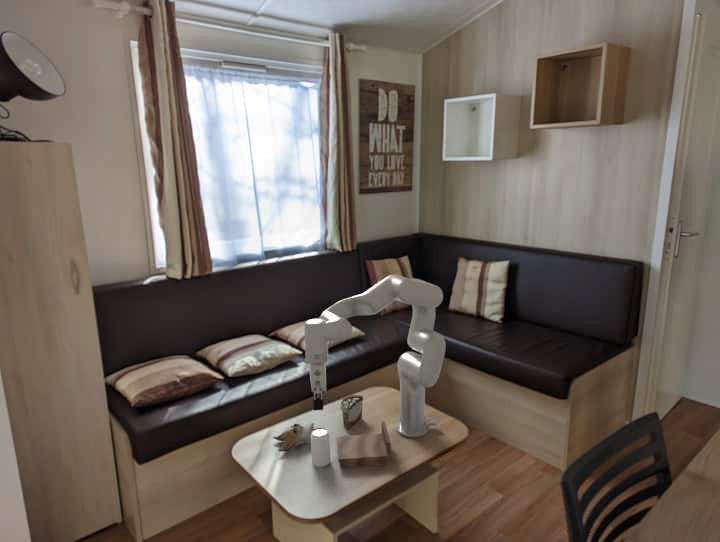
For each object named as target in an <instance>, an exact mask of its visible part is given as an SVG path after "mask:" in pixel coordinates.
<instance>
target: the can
mask: <svg viewBox="0 0 720 542" xmlns="http://www.w3.org/2000/svg"><path fill="white" fill-rule="evenodd" d="M330 441H331V440H330V433H329V430H328V428H325V427H314V430H313V431H312V434H311V443H310V449H311V451H310V452H311V464H312V465H313V466H314V467H317V468H324V467H327V466H328V465H329V464H330V463H331V449H330V447H331V445H330Z"/></svg>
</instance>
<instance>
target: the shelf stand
mask: <svg viewBox="0 0 720 542" xmlns="http://www.w3.org/2000/svg"><path fill="white" fill-rule="evenodd" d="M380 424H381V433H373V434H371V433H370V434H358V435H357V434H356V435H354V434H353V435H343V436H341V435H339V436H336V448H337V456H338V458H337V459H338V463H339V468H340V469H343V468H354V467H355V468H356V467H365V466H367V467H368V466H370V467H371V466H380V465H381V466H382V465H383V466H384V465H387V460H391V459H392V456H391V454H392V453H391V452H392V451H391V450H392V449H391V448H392V447H391V443H392V442H391V439H390V436H389V433H388V428H387V425H386V421H384V420H383V421H381V423H380Z"/></svg>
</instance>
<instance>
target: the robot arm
mask: <svg viewBox="0 0 720 542" xmlns="http://www.w3.org/2000/svg"><path fill="white" fill-rule="evenodd" d="M442 290H443V289H441V288H440V286H438V285H436V284H433V283H431V282H427V281H425V280H422V279H420V278H408V277H406V276H403V275H400V274H390V275H388V276H386V277H384V279H382V280H380V281H379V282H377V283H376V284H374V285H373V286H372V287H370V288H368V289H367V290H366V291H364V292H363V293H360V294H357V295H353V296H351V297H347V298H344V299H342V300H341V299H340V300H339V301H337V302H335V303H334V304H333V305H331V306H329V307H328V308H326V309H325V310H324V311H322V313H320V316H319V317H318V318H312V319H308V320H307V321H306V322H305V323H304V347H305V348H304V350H305V362H306V363H307V364H309V377H310V378H309V379H310V380H309V381H310V387H311V392H312V393H313V394H312V395H313V399H312V400H313V402H312V405H313V411H323V410H324V398H323V392H326V391H327V373H326V372H327V368H326V367H327V366H326V363H327V362H328V361H329V346H328V345H329V342H336V341H338V342H339V341H344V340H347V339H348V338H349V337H350V336H351V335H352V332H353V326H352V324H351V323H350V322H351V321H349V320H348V319H349V318H353V317H356V316H357V317H358V316H372V315H373V316H374V315H376V314H378V313H379V312H381V311H382V310H384V309H385V308H387V307H388V306H389V305H391V304H392V303H394V301H398V302H401V303H402V304H403V303H404V304H406V305H411V308H412V317H411V322H410V325H409V329H408V335H407V340H406V341H407V345H408V346H409V347H410V348H411V349H412V350H414V351H406V352H404V353H402V354H401V355H400V356H399V358H398V361H397V372H398V375H399V386H400V388H399V421H397V423H396V426H395V430H396V432H397V433H398V434H399V435H401V436H403V437H405V438H411V439H412V438H413V439H414V438H421V437H424V436H425V435H427V434H428V432H429V426H437V425H438V424H437V423H438V421H437V419H433V418H432V417H425V415H426V414H425V413H426V412H425V410H426V409H425V406H426V398H425V397H426V388H431V387H433V386H434V385H435V384H436V383H437V381H438V380H439V378H440V375H441V374H440V373H441V371H442V367H443V363H444V358H445V354H446V346H447V343H446V341H445V337H444V336H443V335H442V334H441V333H439V332H437V331H434V327H435V320H436V308H437V307H439V306H440V305H441V304H442V302H443V300H444V294H443V291H442ZM415 351H416V352H415ZM417 352H418V353H417ZM419 353H420V354H419Z"/></svg>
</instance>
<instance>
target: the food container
mask: <svg viewBox="0 0 720 542" xmlns="http://www.w3.org/2000/svg"><path fill="white" fill-rule="evenodd" d="M363 401H364V397H363V395H360V394H353V395H349V396H345V397H343V398H342V400H341V402H340V405H339V409H340V411H342V412H341V414H342V423H343V427H344V428H345V429H346V430H348V431H351V430H352V429H353V428H354V427H355V426H357V424H358V423H360V422H361V421H362V419H363V404H364V403H363Z"/></svg>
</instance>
